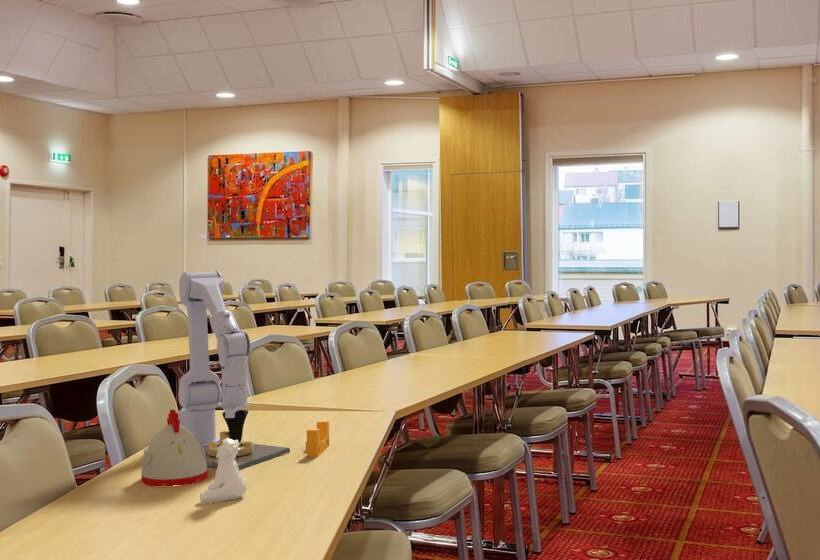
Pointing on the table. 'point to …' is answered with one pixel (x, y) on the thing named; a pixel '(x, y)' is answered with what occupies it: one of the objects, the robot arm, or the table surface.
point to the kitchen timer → (174, 457)
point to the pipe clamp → (317, 439)
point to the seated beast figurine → (225, 475)
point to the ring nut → (245, 446)
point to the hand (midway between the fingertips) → (236, 442)
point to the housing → (250, 455)
